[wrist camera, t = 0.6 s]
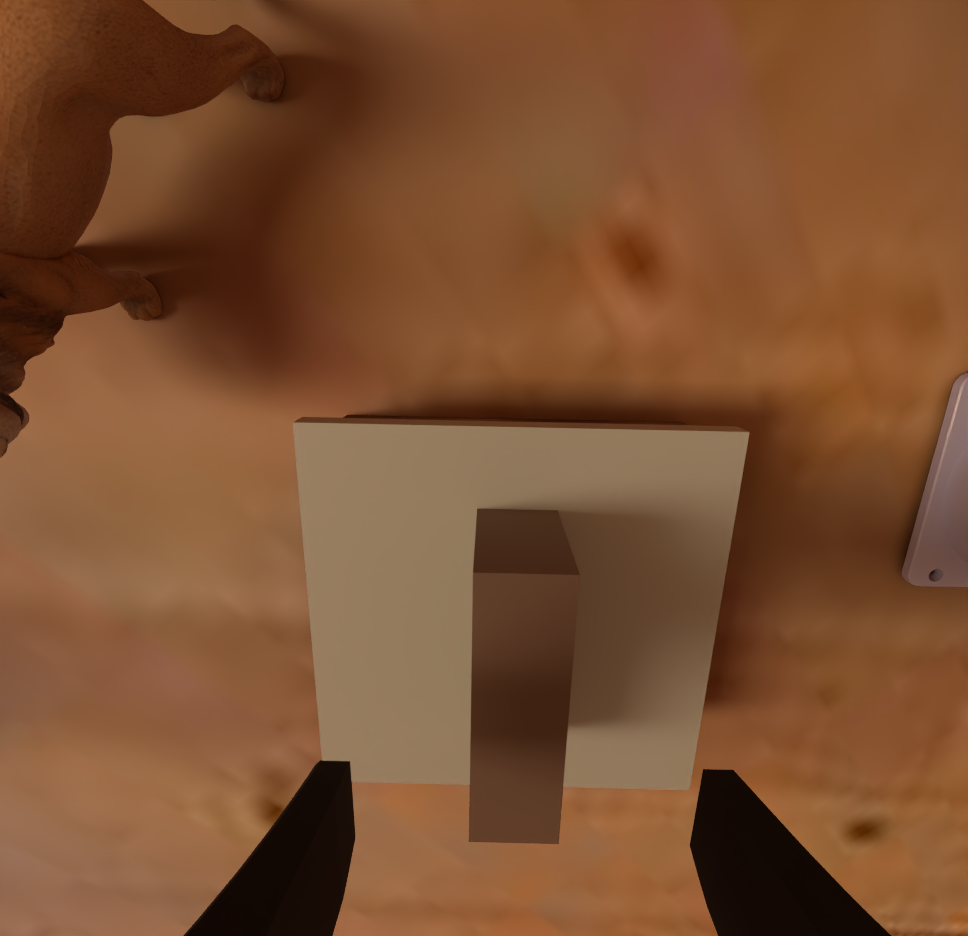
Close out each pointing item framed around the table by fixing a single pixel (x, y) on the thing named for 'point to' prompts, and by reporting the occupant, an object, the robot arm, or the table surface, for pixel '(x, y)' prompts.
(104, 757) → the table surface
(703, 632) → the lid
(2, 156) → the lion figurine
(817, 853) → the table surface
